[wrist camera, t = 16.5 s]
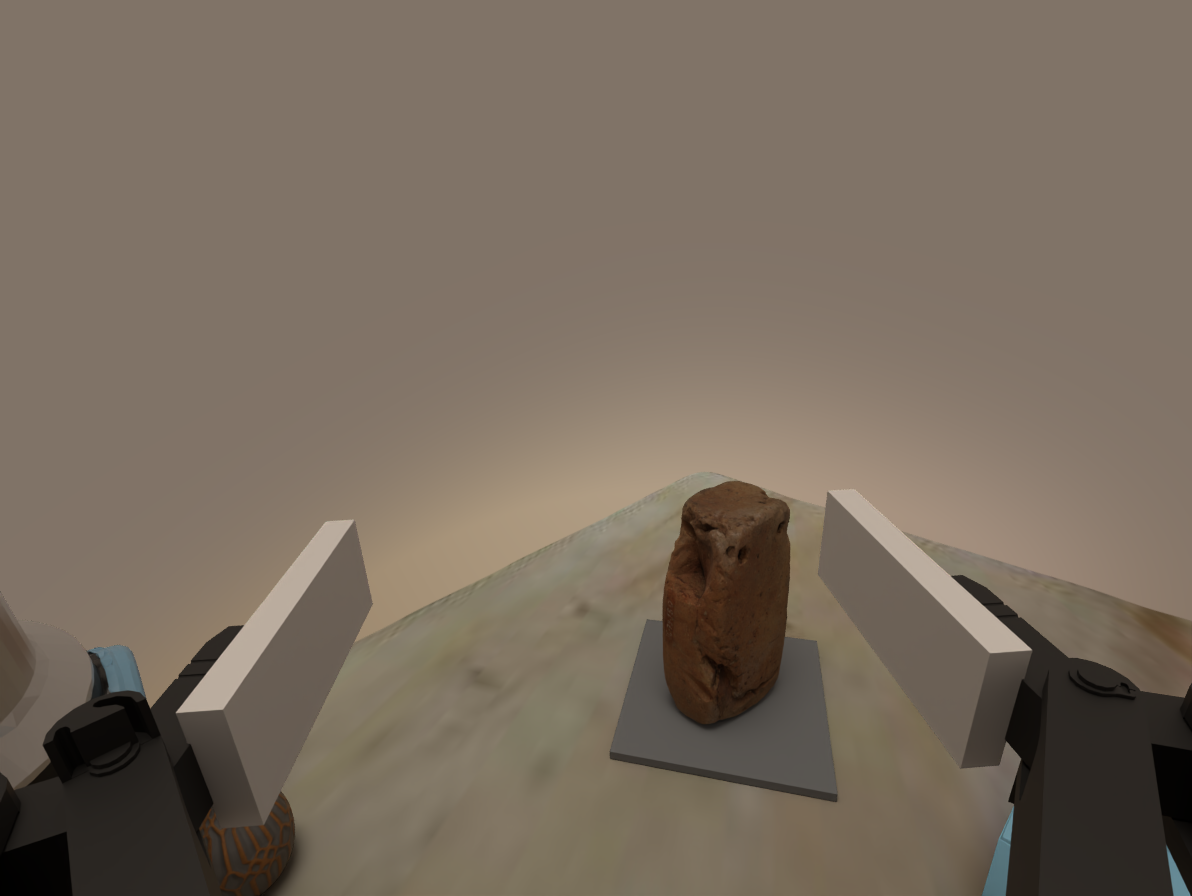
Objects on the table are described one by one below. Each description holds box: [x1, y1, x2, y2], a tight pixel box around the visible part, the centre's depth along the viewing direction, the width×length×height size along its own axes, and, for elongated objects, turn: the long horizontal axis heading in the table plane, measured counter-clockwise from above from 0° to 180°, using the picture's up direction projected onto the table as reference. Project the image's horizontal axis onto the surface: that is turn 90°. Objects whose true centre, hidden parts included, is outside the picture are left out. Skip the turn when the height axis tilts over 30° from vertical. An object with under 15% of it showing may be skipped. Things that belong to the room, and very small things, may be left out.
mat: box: [610, 619, 837, 802], centre depth 55 cm, size 18×18×1 cm
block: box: [663, 481, 790, 724], centre depth 51 cm, size 11×8×20 cm
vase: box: [199, 791, 295, 896], centre depth 40 cm, size 7×7×9 cm
